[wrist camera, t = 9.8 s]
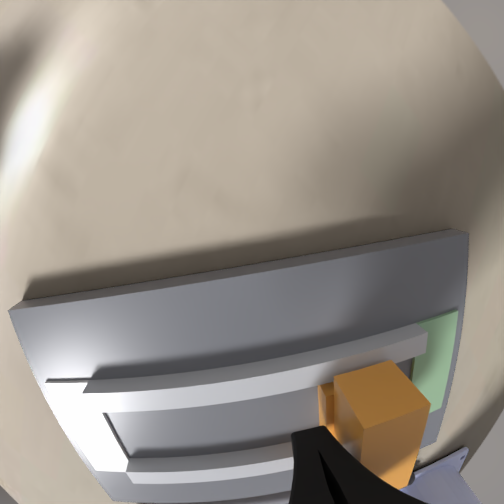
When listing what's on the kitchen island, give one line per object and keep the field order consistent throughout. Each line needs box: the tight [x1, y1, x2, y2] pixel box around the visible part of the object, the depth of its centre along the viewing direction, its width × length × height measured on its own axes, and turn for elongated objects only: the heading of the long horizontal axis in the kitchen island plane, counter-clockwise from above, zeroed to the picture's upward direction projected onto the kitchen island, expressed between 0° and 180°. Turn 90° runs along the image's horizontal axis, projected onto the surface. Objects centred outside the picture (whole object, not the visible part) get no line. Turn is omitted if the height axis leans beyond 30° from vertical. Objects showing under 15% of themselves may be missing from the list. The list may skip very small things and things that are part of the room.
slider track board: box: [8, 229, 469, 503], centre depth 13 cm, size 13×20×2 cm, turn 98°
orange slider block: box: [318, 360, 431, 490], centre depth 11 cm, size 5×3×4 cm, turn 8°
